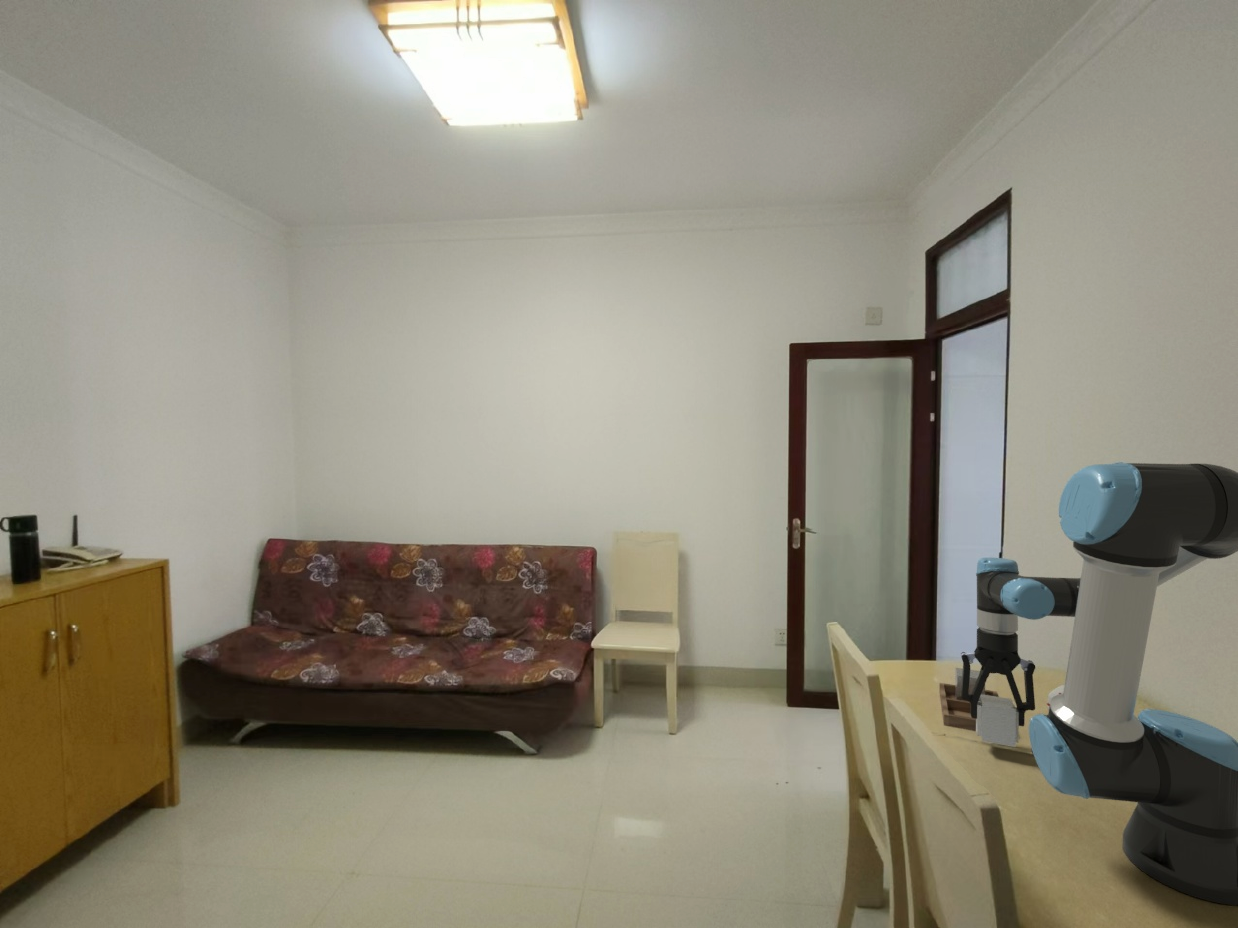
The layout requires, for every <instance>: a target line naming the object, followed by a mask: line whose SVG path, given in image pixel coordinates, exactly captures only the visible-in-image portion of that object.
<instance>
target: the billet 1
mask: <svg viewBox="0 0 1238 928" xmlns="http://www.w3.org/2000/svg"><path fill="white" fill-rule="evenodd" d="M954 670H955V672H954V675H955V678H954V679H955V682H954V683H955V684H954V685H955V699H957V700H963V699H962V696H961V685H962V673H963V667H962V668H960V667H955V669H954ZM979 673H980V670H975V669H970V680H969V694H972V691H973V688H974V686H975V683H976V681H977V678H978V676H979ZM985 690H986V684H985V685H984V688H983V690H982V693H981V694H983V695H985ZM964 701H967V700H964ZM978 701H979V700H978Z"/></svg>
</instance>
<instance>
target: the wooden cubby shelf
mask: <svg viewBox="0 0 1238 928" xmlns="http://www.w3.org/2000/svg"><path fill="white" fill-rule="evenodd" d="M938 688H939V689H938V690H939V698H940V699H939V701H940V705H941V707H940V708H941V712H942V713H941V715H942V723H943V726H946V727H951V728H957V729H961V730H962V729H963V730H968V731H973V732H976V719H975V718H972V717H971V714H970V702H969V701H964V700H957V699H955V684H950V683H944V682H939V687H938ZM985 695H989V696H996V697H1000V696H999V693H998V691H995V690H990V689H985Z"/></svg>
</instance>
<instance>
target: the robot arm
mask: <svg viewBox="0 0 1238 928" xmlns="http://www.w3.org/2000/svg"><path fill="white" fill-rule="evenodd" d="M1058 517H1059V518H1061V520H1060V522H1059V524H1060V528H1061V529H1062V532H1063V534H1064V535H1065V536H1066V537H1067V538H1068V539H1069V540H1071V541H1072V548H1073V549H1074V551H1075V552H1076V553H1077V554H1079V556H1080V557H1081V558H1082V559H1083V561H1082V568H1081V573H1080V574H1081V575H1080V577H1049V576H1048V577H1047V576H1046V577H1045V576H1023V575H1020V571H1019V566H1018V565H1019V564H1018V563H1017V561H1016V560H1013V559H1011V558H1010V559H1009V558H1003V557H981V558H980V559H978V561H977V565H976V573H975V575H976V627H978V628H977V629H976V647H975V649H974V651H973V652H968V653H967V652H964V651H962V652H961V653H960V656H961V659H962V660H961V661H962V664H963V665H962V669H963V673H962V685H961V696H962V699H963V700H967V701H969V702H970V714H971V717H972V718H975V719H976V731H975V732H976V735H977V736H980V737H981V703H980V702H979V701H978V700H979V698H980V695H981V693H982V690H983V688H984V685H985V686H986V682H987V679H988V678H989V676H990V674H999V675H1001V676H1005V677H1006V680H1007V682H1008V686H1009V688H1010V689H1009V690H1010V691H1011V695H1012V696H1013V700H1014V704H1015V705H1016V706H1015V709H1016V743H1019V742H1020V740H1019V739H1020V738H1019V737H1020V736H1019V734H1020V733H1019V732H1020V731H1019V727H1024V726H1025V716H1026V715H1025V714H1026V712H1027V711H1035V710H1036V700H1035V688H1034V677H1033V675H1034V672H1035V670H1036V665H1035V663H1034V662H1033V661H1032V660H1030V659H1029V660H1026V659H1023V658H1021V657H1020V655H1019V635H1018V634H1017V632H1018V631H1019V618H1023V619H1027V620H1033V621H1035V620H1037V621H1038V620H1041V619H1043V618H1046V617H1067V618H1069V617H1070V618H1074V621H1073V628H1072V633H1071V642H1070V647H1069V655H1068V661H1067V667H1066V672H1065V673H1066V674H1065V679H1064V680H1065V681H1064V684H1065V686H1064V693H1062V694H1059V695H1056V696H1054V697H1053V698H1052V699H1051V701H1050V707H1049V711H1048V714H1043V713H1039V714H1035V715H1033V716H1032V717H1031V718H1030V720H1029V723H1028V735H1029V742H1030V746H1031V750H1032V755H1033V756H1034V759H1035V762H1036V765H1037V766H1038V769H1039V771H1040V773H1041V774H1042V775H1043V778H1044V779H1045V780H1046V782H1047V783H1048V784H1049V785H1050V787H1051V788H1052V789H1054V790H1056V791H1057V792H1058V793H1061V794H1062V795H1067V796H1073V797H1080V798H1083V799H1085V800H1088V799H1090V798H1091V799H1099V800H1100V799H1102V800H1111V801H1112V800H1113V801H1123V802H1131V803H1132V802H1133V803H1137V804H1136V806H1135V808H1134V810H1133V812H1132V814H1131V815H1130V817H1129V820H1128V821H1127V823H1126V825H1125V827H1124V829H1123V832H1122V851H1123V853H1124V854H1125V856H1126V857H1127V859H1128V860H1129V861H1130V862H1131V863H1132V864H1133V865H1134V866H1136V867H1137V868H1138V869H1139V870H1141V871H1142V872H1143V873H1145V874H1146V875H1148V876H1150V877H1151V878H1152V879H1154V880H1156V881H1157V882H1160V883H1161V884H1163V885H1166V886H1167V887H1169V888H1172V889H1174V890H1176V891H1179V892H1180V893H1183V894H1186V895H1189V896H1192V897H1194V898H1197V899H1201V900H1204V901H1206V902H1207V901H1208V902H1212V903H1217V904H1223V905H1232V906H1238V741H1237V740H1236V739H1235V738H1234V737H1233V736H1231V735H1230V734H1229V733H1227V732H1225V731H1223V730H1221V729H1219V728H1217V727H1216V726H1213V725H1211V724H1208V723H1206V722H1203V721H1201V720H1198V719H1195V718H1194V717H1193V718H1192V717H1189V716H1186V715H1182V714H1180V713H1175V712H1171V711H1166V710H1161V709H1156V708H1145V709H1143V710H1141V711H1139V713H1138V715H1137V716H1136V715H1135V714H1134V713H1135V710H1136V709H1135V707H1136V702H1137V697H1138V693H1139V687H1140V681H1141V675H1142V669H1143V665H1144V658H1145V655H1146V648H1147V641H1148V636H1149V631H1150V627H1151V626H1150V625H1151V621H1152V615H1153V609H1154V604H1155V597H1156V593H1157V587H1160V586H1161V585H1163V584H1164V583H1166V582H1168V581H1170V580H1172V579H1174V578H1175V577H1177V576H1178V575H1181V574H1182V573H1185V572H1186V571H1188V570H1189V569H1191V568H1193V567H1195V566H1196V565H1199V564H1200V563H1202V562H1204V561H1206V560H1208V559H1210V560H1218V559H1219V560H1220V559H1223V558H1227V557H1230V556H1231V555H1234V554H1235V553H1237V552H1238V472H1237V471H1236V470H1233V469H1232V468H1231V469H1230V468H1228V467H1225V466H1222V465H1217V464H1211V463H1149V462H1148V463H1143V462H1142V463H1139V462H1138V463H1137V462H1136V463H1135V462H1134V463H1133V462H1130V463H1129V462H1120V461H1119V462H1114V463H1108V464H1107V463H1104V464H1103V463H1101V464H1092V465H1087V466H1085V467H1083V468H1081V469H1079V470H1078V471H1077V472H1076V473H1073V475H1072V476H1071V477H1070V478H1069V480H1067V482H1066V484H1065V486H1064V488H1063V489H1062V492H1061V495H1060V498H1059V504H1058ZM975 659H976V660H977V662H978V663H979V664H980V665H981V667H980V670H979V671H980V673H979V676H978V678H977V681H976V683H975V686H974V688H973V691H972V694H969V680H970V670H971V665H972V664H973V663H974V660H975ZM1019 665H1021V666H1020V667H1021V669H1022V670H1023V678H1024V691H1025V701H1023V700H1022V696H1021V694H1020V691H1019V689H1018V686H1017V683H1016V680H1015V678H1014V674H1013V671H1014V670H1015V669H1016V668H1017V667H1018V666H1019Z"/></svg>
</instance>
